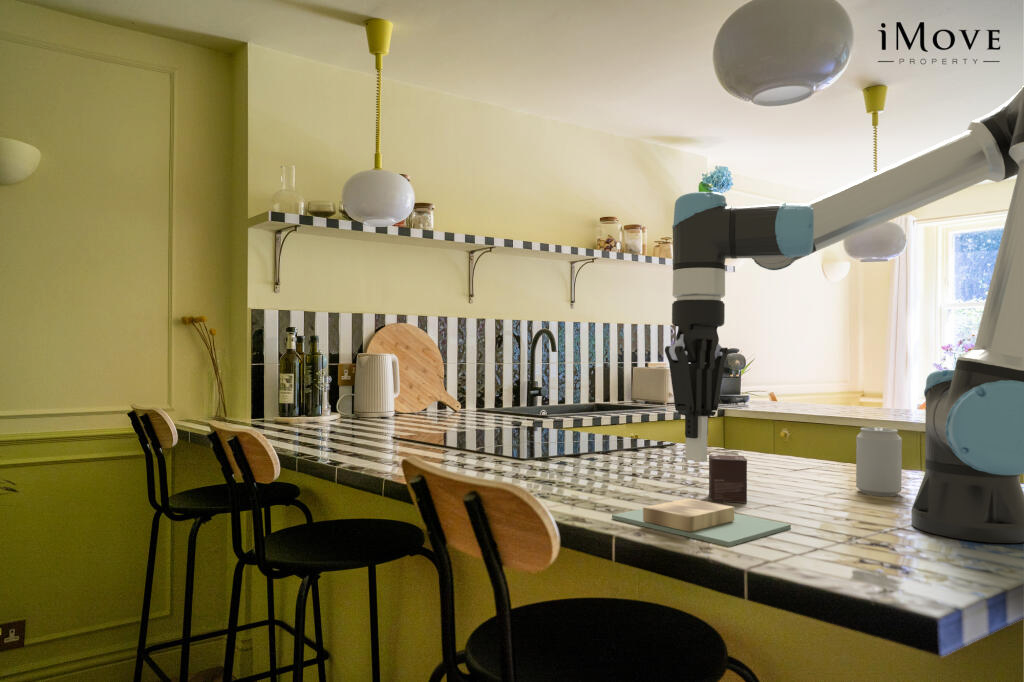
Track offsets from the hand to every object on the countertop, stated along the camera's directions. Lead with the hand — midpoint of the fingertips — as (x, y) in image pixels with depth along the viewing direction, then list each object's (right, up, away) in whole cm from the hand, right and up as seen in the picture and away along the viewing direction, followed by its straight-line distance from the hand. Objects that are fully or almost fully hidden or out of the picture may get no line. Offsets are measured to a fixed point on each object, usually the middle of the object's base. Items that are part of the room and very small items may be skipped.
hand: (696, 460), depth 107 cm
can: (+41, -11, +28) cm, 50 cm away
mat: (+1, -9, 0) cm, 9 cm away
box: (+10, -10, +20) cm, 24 cm away
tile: (+3, -8, +2) cm, 9 cm away
